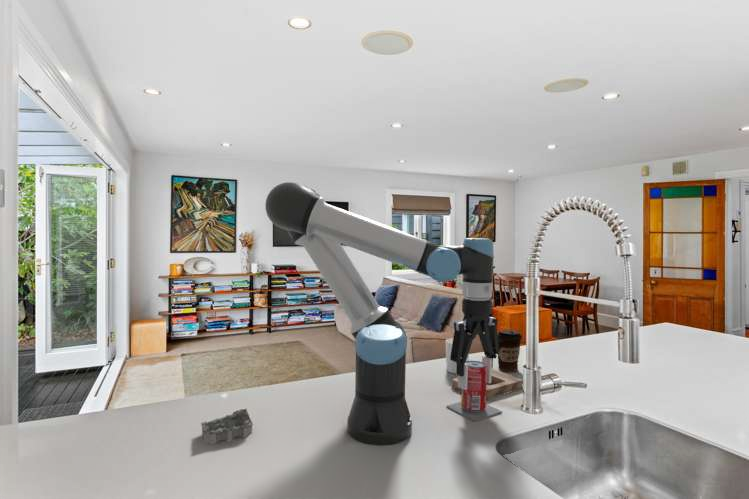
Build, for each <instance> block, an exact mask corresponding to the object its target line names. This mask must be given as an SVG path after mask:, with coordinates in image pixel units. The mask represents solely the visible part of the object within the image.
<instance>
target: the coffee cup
mask: <svg viewBox="0 0 749 499" xmlns="http://www.w3.org/2000/svg"><path fill="white" fill-rule="evenodd" d="M497 333H498V344H499V354H497V364H498V369H499V371H502V372H511V373H512V372H517V371H519V368H518V366H519V364H518V363H519V357H520V352H521V351H520V348H521V342H522V340H523V335H522V334H521V332H520V331H519V330H516V329H501V330H498V332H497Z"/></svg>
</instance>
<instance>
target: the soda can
mask: <svg viewBox="0 0 749 499" xmlns="http://www.w3.org/2000/svg"><path fill="white" fill-rule="evenodd" d="M465 363H467V364H468V380H467V390H464V389H462V392H461V397H460V402H461V406H462V407H463V408H464V409H465V410H466V411H469V412H473V413H478V412H482V411H483V410H484V409H485V408H486V404H487V399H486V388H487V386H488V385H487V384H488V383H487V368H486V366H485V364H484V363H482V361H478V360H468V361H466V362H465Z"/></svg>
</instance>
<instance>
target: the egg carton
mask: <svg viewBox="0 0 749 499" xmlns="http://www.w3.org/2000/svg"><path fill="white" fill-rule="evenodd" d="M200 423H201V424H200V426H201V430H202V432H201V435H202V437H203V438H204V439H203V443H204V444H210V445H215V444H217V443H218V442H219V441H221V440H222V441H227V442H229V441H233V439H234V438H237V437H242V438H249V435H250V434H252V433H253V425H254V424H253V421H252V419H251V418H250V415H249V412H248V410H247V408H243V409H238V410H235V411H233V412H232V414H226V415H225V416H223V417H220V418H219V417H218V418H214V419H212V420H211V421H204V422H203V421H202V422H200Z"/></svg>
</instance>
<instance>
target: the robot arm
mask: <svg viewBox="0 0 749 499" xmlns="http://www.w3.org/2000/svg"><path fill="white" fill-rule="evenodd" d="M264 206H265V213H266V215H267V218H268V219H269V221H271V223H273V225H275V226H276V227H278V228H280V229H282V230H286V232H287V233H288V234H289V237H290V238H291V239H292V241H293V243H294V244H295V245H297V246H302V247H303V248H304V249H305V251H306V252H307V254H308V255H309V257H310V259H311V260H312V262H313V264H314V265H315V267H316V268H317V269H318V271H319V273H320V275H321V276H322V277H323V279H324V281H325V282H326V284H327V286H328V287H329V289H330V291H331V292H332V293H333V296H334V297H335V299H336V301H337V302H338V303H339V305H340V307H341V308H342V310H343V312H344V313H345V315H346V316H347V318H348V319H349V321H350V323H351V327H350V333H351V335H352V337H353V338H354V340H355V342H354V349H355V380H354V381H355V382H354V384H355V385H354V386H355V389H354V390H355V393H354V394H355V396H354V399H353V401H352V405H351V408H350V411H349V414H348V416H347V421H346V422H347V426H346V427H347V428H346V429H347V430H346V431H347V433H348V434H349V436H351V437H352V438H353V439H354V440H357V441H360V442H361V443H365V444H369V445H380V446H381V445H382V446H383V445H393V444H397V443H399V442H402V441H404V440H406V439H407V438H409V437H410V435H411V434H412V431H413V430H412V429H413V421H412V420H413V419H412V417H411V413H410V410H409V407H408V402H407V400H406V369H407V368H406V367H407V366H406V364H407V362H406V361H407V360H406V359H407V358H406V357H407V347H408V339H407V337H408V336H407V334H406V333H407V332H405V329H404V328H403V326H402V325H401V324H400V322H398V321H397V320H396V319H395V317H394V316H393V315H392V313H391V312H390V310H389V309H388V307H385V306H381V305H380V304H379V303H378V302H377V300H376V298H375V297H374V295H373V293H372V292H371V291H370V289H369V287H368V285H367V284H366V282H365V281H364V279H363V277H362V276H361V274H360V273H359V271H358V269H357V267H355V265H354V263H353V261H352V260H351V258H350V257H349V254H347V252H346V251H345V249H344V247H343V246H347V247H349V248H353V249H355V250H356V251H357V250H358V251H360V252H363V253H366V254H369V255H371V256H375V257H377V258H380V259H383V260H385V261H388V262H390V263H392V264H396V265H398V266H400V267H404V268H407V269H409V270H411V271H415V272H417V273H418V274H422V275H425V276H428V277H430V278H431V279H432V280H434V281H435V282H436V281H437V282H440V283H447V282H448V283H449V282H452V281H453V280H454V279H456V278H457V276H459V275H460V276H461V275H462V289H461V290H462V292H461V293H462V294H461V295H462V297H463V298H462V299H461V312H462V314H463V318H462V321H454V322H453V329H454V330H453V331H454V332H453V337H452V338H453V344H452V350H451V357H450V360H452V361H454V362H456V363H457V371H456V373H457V374H456V375H457V378H458V387H460V388H462V389H464V390H467V380H468V364H467V363H465V362H466V359H467V356H468V353H469V354H470V350H471V347H472V343H473V341H474V340H475V338H476V336H477V335H478V338H479V340H480V343H481V346H482V350H483V356H481V362H482V363H484V364H485V366H486V368H487V384H491V374H492V369H494V363H493V362H494V360H495V359H497V358H498V354H499V344H498V333H499V332H498V324H499V323H498V322H499V320H498V318H496V317H493V316H490V315H491V314H492V312H493V300H492V299H491V298H493V277H494V276H493V275H494V258H495V256H494V242H493V240H492V239H490V238H483V237H482V238H481V237H479V238H477V237H476V238H475V237H470V238H469V237H466V238H464V240H463V243H462V245H443V244H441V245H440V244H438V243H434V242H432V241H428V240H427V239H424V238H420V237H418V236H416V235H413V234H411V233H408V232H405V231H401V230H399V229H397V228H394V227H392V226H388V225H387V224H383V223H380V222H378V221H375V220H372V219H369V218H367V217H364V216H362V215H358V214H356V213H353V212H351V211H347V210H345V209H343V208H340V207H337V206H334V205H332V204H328V203H327V202H326V200H325V198H324V197H322V196H321V195H320V194H319V193H318V192H317V191H316V190H315V189H312V188H311V187H309V186H306V185H301V184H299V183H295V182H283V183H279V184H277V185H276V186H274V187H273V188H272V189H271V190H270V191H269V192H268V194H267V196H266V200H265V205H264ZM342 245H343V246H342ZM461 357H462V359H461Z"/></svg>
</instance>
